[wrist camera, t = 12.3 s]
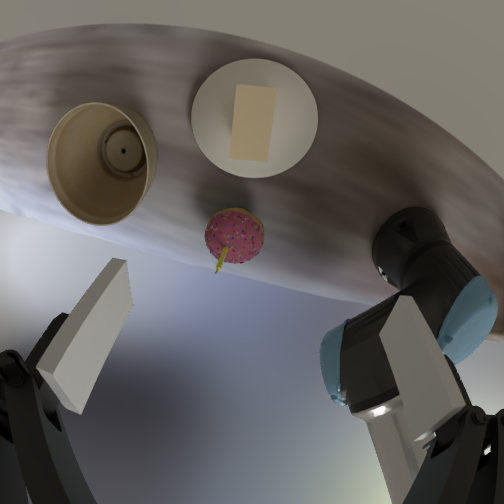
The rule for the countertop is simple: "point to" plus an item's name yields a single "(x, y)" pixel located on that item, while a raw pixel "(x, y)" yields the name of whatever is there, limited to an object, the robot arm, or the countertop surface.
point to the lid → (254, 118)
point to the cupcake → (234, 236)
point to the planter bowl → (101, 162)
